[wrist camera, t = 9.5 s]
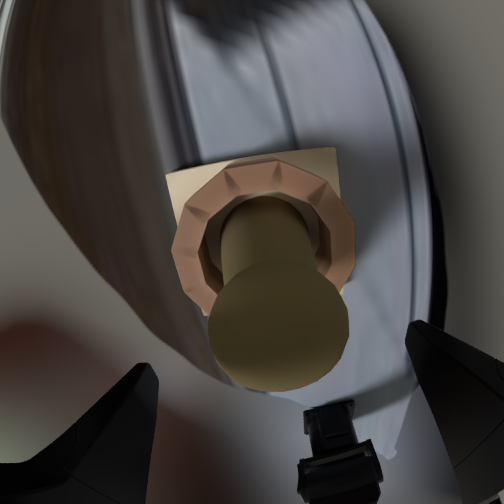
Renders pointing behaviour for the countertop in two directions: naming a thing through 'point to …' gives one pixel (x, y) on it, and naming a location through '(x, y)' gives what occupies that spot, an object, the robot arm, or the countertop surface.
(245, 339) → the cork
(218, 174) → the socket board
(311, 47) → the countertop surface
